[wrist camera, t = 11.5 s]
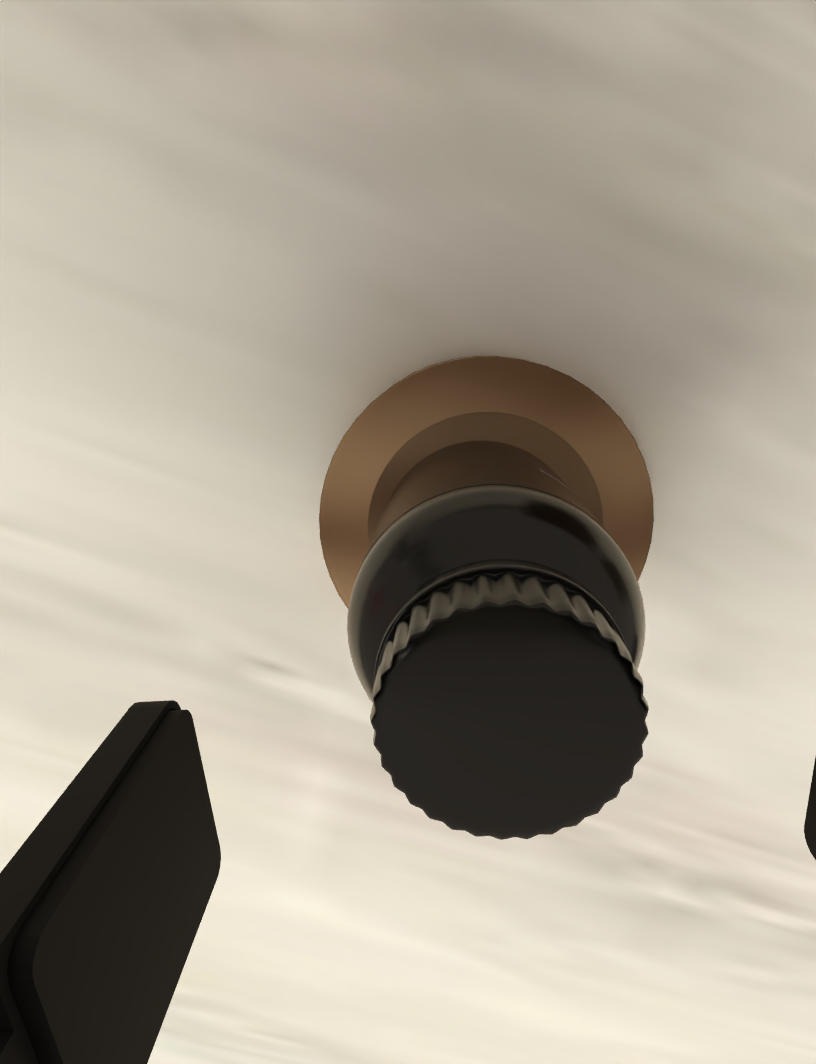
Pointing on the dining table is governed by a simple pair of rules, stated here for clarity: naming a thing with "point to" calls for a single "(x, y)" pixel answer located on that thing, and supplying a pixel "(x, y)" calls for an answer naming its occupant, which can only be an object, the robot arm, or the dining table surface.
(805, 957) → the dining table surface
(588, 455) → the stand
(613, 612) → the supplement bottle
